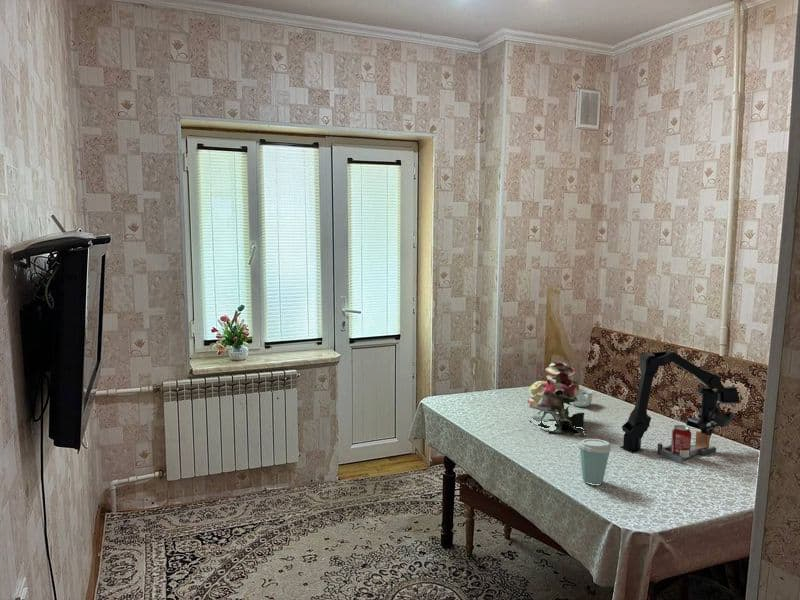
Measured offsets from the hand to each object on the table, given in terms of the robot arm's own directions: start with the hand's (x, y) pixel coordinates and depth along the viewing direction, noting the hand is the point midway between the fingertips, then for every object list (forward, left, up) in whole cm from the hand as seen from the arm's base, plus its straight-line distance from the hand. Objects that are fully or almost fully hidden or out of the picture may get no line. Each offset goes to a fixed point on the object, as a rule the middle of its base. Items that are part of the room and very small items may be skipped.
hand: (707, 440), depth 234 cm
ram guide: (-3, 0, -4) cm, 5 cm away
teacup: (-3, +68, -4) cm, 68 cm away
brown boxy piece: (-7, 0, -4) cm, 8 cm away
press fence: (-16, 0, -4) cm, 16 cm away
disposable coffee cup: (-64, -3, -4) cm, 64 cm away
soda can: (-16, 0, -4) cm, 16 cm away
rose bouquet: (-35, +50, -4) cm, 61 cm away
